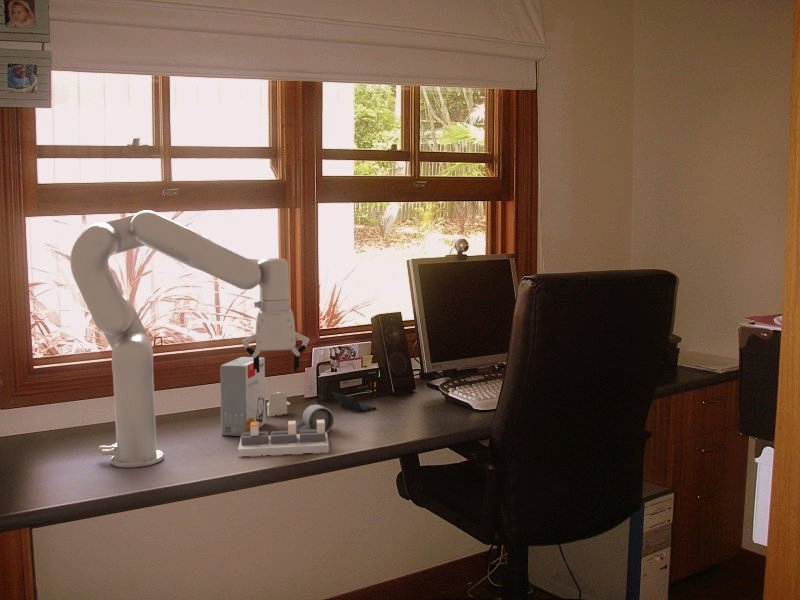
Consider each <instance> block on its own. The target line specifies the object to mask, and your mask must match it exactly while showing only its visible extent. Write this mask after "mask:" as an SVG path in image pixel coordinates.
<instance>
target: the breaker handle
mask: <svg viewBox="0 0 800 600" xmlns="http://www.w3.org/2000/svg"><path fill="white" fill-rule="evenodd" d="M259 432H260V427H259V422H251V424H250V433H251V436H258V435H259Z"/></svg>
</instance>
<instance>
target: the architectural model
mask: <svg viewBox="0 0 800 600" xmlns="http://www.w3.org/2000/svg"><path fill="white" fill-rule="evenodd" d="M287 394H288V393H287V391H282V392H280V391H277V392H275V393H274V392H273V393H269V394H268V399H267V403H265V406H266V409H267V410H266V411H267V416H268V417H276V416H275V415H277V416H283V414H286V415H288V406H290V405H291V403H290V402H289V401H288V400H287V398H288V397H287Z"/></svg>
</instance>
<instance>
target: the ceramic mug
mask: <svg viewBox="0 0 800 600" xmlns="http://www.w3.org/2000/svg"><path fill="white" fill-rule="evenodd" d="M317 420H324V422H325V433H327V434H328V433H329V432H330V431H331V430H332V428H333V426H334V423H335V416H334V413H333V412H332V411H331V410H330V409H329V408H327V407H325V406H323V405H321V404H311V405H309V406H308V407H306V408H305V410H304V411H303V414H302V421H300V422H298V423H296V434H300V430H313V429H317Z"/></svg>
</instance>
